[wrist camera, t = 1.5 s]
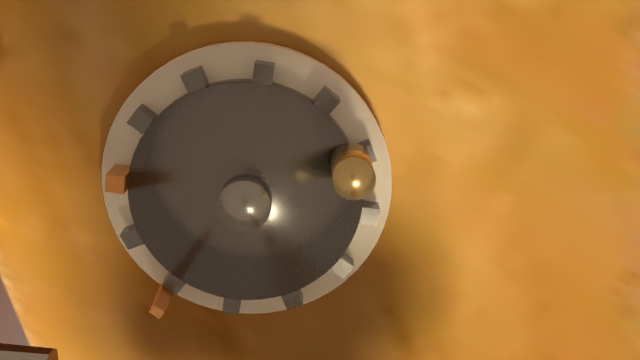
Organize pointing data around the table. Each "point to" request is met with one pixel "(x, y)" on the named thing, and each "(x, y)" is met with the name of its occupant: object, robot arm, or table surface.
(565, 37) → the table surface
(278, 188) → the sprocket
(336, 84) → the sprocket base
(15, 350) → the robot arm
